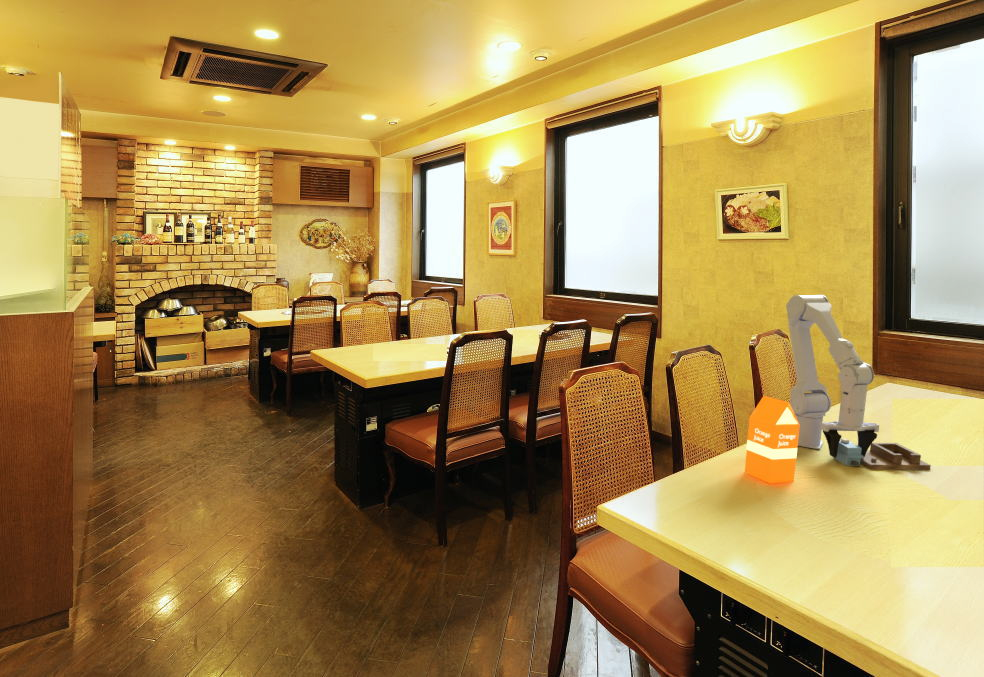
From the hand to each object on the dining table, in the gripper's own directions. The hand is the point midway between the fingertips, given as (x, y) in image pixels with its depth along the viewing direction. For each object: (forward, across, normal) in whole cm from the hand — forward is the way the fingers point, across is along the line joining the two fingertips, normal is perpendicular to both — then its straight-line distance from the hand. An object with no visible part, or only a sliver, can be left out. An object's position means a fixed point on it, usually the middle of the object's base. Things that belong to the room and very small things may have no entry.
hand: (846, 456), depth 163 cm
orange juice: (+2, -27, -11) cm, 29 cm away
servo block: (+2, 0, 0) cm, 2 cm away
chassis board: (+1, +11, 0) cm, 11 cm away
